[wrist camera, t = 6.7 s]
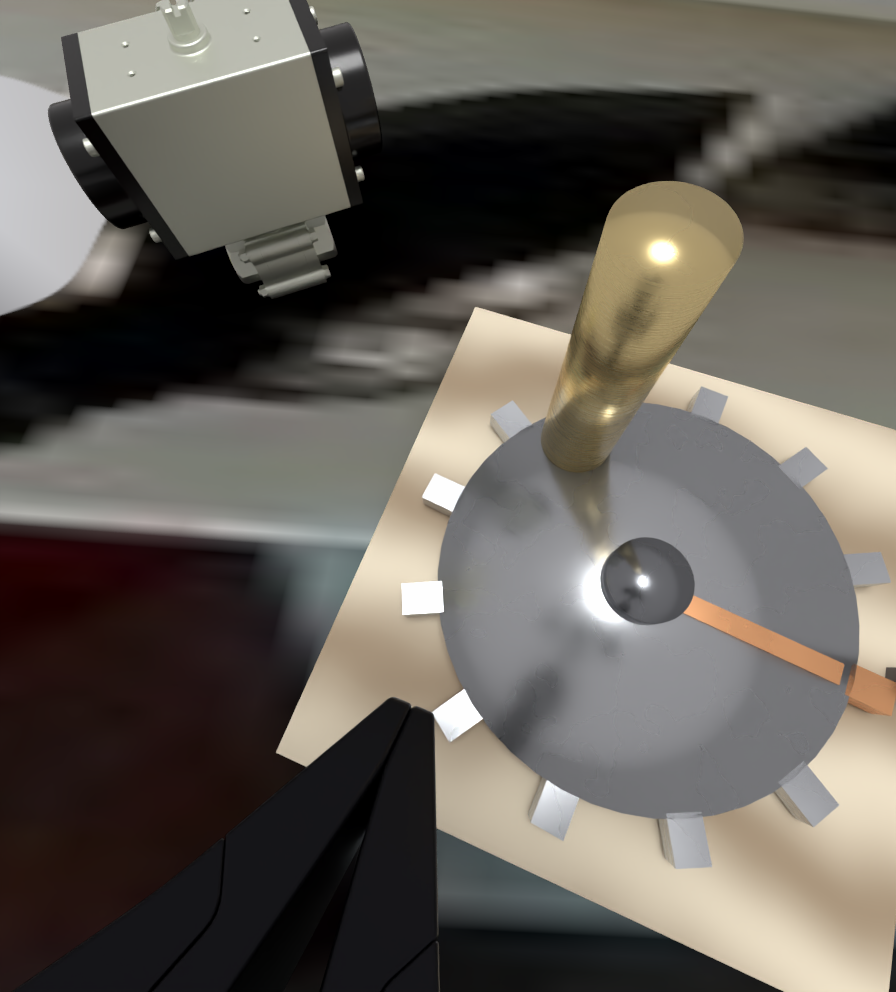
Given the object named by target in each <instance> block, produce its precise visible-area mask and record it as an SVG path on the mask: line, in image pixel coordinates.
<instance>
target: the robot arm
mask: <svg viewBox="0 0 896 992" xmlns="http://www.w3.org/2000/svg"><path fill="white" fill-rule="evenodd" d="M362 839H363V841H362ZM361 841H362V844H361V848H360V851H359V855H358V859H357V862H356V866H355V869H354V873H353V876H352V880H351V883H350V887H349V890H348V894H347V897H346V901H345V904H344V908H343V911H342V915H341V918H340V922H339V925H338V929H337V932H336V936H335V939H334V943H333V946H332V950H331V953H330V957H329V960H328V964H327V967H326V971H325V974H324V978H323V981H322V985H321V988H320V992H440V979H439V944H438V942H437V939H438V886H437V830H436V773H435V719H434V714H433V713H432V712H431V711H428V710H426V709H423V708H421V707H418V706H413V707H412V706H411V704H410V703H409V702H406V701H404V700H401V699H399V698H396V697H390V698H388V699H387V700H386V701H384V702H383V703H382V704H381V705H380V706H379V707H377V708H376V709H375V710H374V711H373V712H371V713H370V714H369V715H368V716H367V717H365V718H364V719H363V720H362V721H361V722H359V723H358V724H357V725H356V726H355V727H353V728H352V729H351V730H350V731H349V732H348V733H346V734H345V735H344V736H343V737H342V738H340V739H339V740H338V741H337V742H336V743H334V744H333V745H332V746H331V747H330V748H328V749H327V750H326V751H325V752H324V753H322V754H321V755H320V756H319V757H318V758H317V759H315V760H314V761H313V762H312V763H311V764H309V765H308V766H307V767H306V768H305V769H303V770H302V771H301V772H300V773H299V774H297V775H296V776H295V777H294V778H293V779H292V780H290V781H289V782H288V783H287V784H286V785H284V786H283V787H282V788H281V789H280V790H278V791H277V792H276V793H275V794H274V795H272V796H271V797H270V798H269V799H268V800H266V801H265V802H264V803H263V804H262V805H261V806H259V807H258V808H257V809H256V810H255V811H253V812H252V813H251V814H250V815H249V816H247V817H246V818H245V819H244V820H243V821H241V822H240V823H239V824H238V825H237V826H235V827H234V828H233V829H232V830H231V831H230V832H228V833H227V834H226V836H225V840H224V839H223V838H222V839H220V840H218V841H217V842H216V843H215V844H214V845H212V846H211V847H210V848H209V849H208V850H207V851H205V852H204V853H203V854H202V855H201V856H199V857H198V858H197V859H196V860H194V861H193V862H192V863H191V864H189V865H188V866H187V867H186V868H184V869H183V870H182V871H181V872H179V873H178V874H177V875H176V876H174V877H173V878H172V879H171V880H169V881H168V882H167V883H166V884H164V885H163V886H162V887H160V888H159V889H158V890H156V891H155V892H154V893H152V894H151V895H149V896H148V897H147V898H145V899H144V900H142V901H141V902H140V903H138V904H137V905H136V906H134V907H133V908H131V909H130V910H129V911H127V912H126V913H125V914H123V915H122V916H120V917H119V918H118V919H116V920H115V921H113V922H112V923H110V924H109V925H107V926H106V927H104V928H103V929H102V930H100V931H99V932H97V933H96V934H94V935H93V936H91V937H90V938H89V939H87V940H86V941H84V942H83V943H81V944H80V945H78V946H77V947H76V948H74V949H73V950H71V951H70V952H68V953H67V954H65V955H64V956H63V957H61V958H60V959H58V960H57V961H55V962H54V963H52V964H51V965H50V966H48V967H47V968H45V969H44V970H42V971H41V972H39V973H38V974H37V975H35V976H34V977H32V978H31V979H29V980H28V981H26V982H25V983H23V984H22V985H21V986H19V987H18V988H16V989H15V990H13V991H12V992H283V990H284V989H285V987H286V985H287V983H288V981H289V979H290V977H291V975H292V973H293V971H294V969H295V968H296V966H297V964H298V962H299V960H300V958H301V956H302V954H303V952H304V950H305V948H306V947H307V945H308V943H309V941H310V939H311V937H312V935H313V933H314V931H315V929H316V927H317V926H318V924H319V922H320V920H321V918H322V916H323V914H324V912H325V910H326V908H327V906H328V905H329V903H330V901H331V899H332V897H333V895H334V893H335V891H336V889H337V887H338V886H339V884H340V882H341V880H342V878H343V876H344V874H345V872H346V870H347V868H348V866H349V865H350V863H351V861H352V859H353V857H354V855H355V853H356V851H357V849H358V847H359V845H360V843H361Z"/></svg>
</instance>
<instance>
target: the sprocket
mask: <svg viewBox="0 0 896 992" xmlns="http://www.w3.org/2000/svg"><path fill="white" fill-rule="evenodd" d="M743 240H744V239H743V230H742V226H741V223H740V221H739V219H738V217H737V215H736V214H735V212H734V211H733V210H732V208H731V207H730V206H729V205H728V204H727V203H726V202H725V201H724V200H722V199H721V198H720V197H718V196H717V195H715V194H714V193H712V192H710V191H708V190H706V189H704V188H701V187H699V186H696V185H692V184H689V183H683V182H676V181H660V182H652V183H648V184H644V185H641V186H638V187H636V188H634V189H632V190H630V191H628V192H627V193H625V194H624V195H622V196H621V197H620V198H619V199H618V200H617V201H616V202H615V203H614V205H613V206H612V208H611V209H610V211H609V214H608V216H607V219H606V223H605V226H604V229H603V232H602V236H601V239H600V242H599V246H598V249H597V252H596V255H595V259H594V262H593V265H592V268H591V272H590V275H589V278H588V282H587V285H586V288H585V291H584V295H583V298H582V301H581V304H580V308H579V311H578V314H577V318H576V321H575V324H574V327H573V331H572V334H571V337H570V340H569V344H568V347H567V350H566V354H565V357H564V360H563V363H562V367H561V370H560V373H559V377H558V380H557V383H556V386H555V390H554V393H553V396H552V399H551V403H550V406H549V409H548V413H547V416H546V418H543V419H541V420H539V421H537V422H535V423H533V424H532V423H531V422H530V421H529V420H528V419H527V417H526V416H525V415H524V414H523V412H522V411H521V410H520V409H519V407H518V406H517V405H516V404H515V402H514V401H513V400H512V401H511V402H509V403H508V404H506V405H504V406H503V407H501V408H500V409H498V410H496V411H495V412H493V413H491V417H490V425H491V426H492V428H493V429H494V430H495V432H496V433H497V434H498V435H499V437H500V438H501V439H502V441H503V442H504V443H503V444H501V445H500V446H499V447H498V448H497V449H496V450H495V451H494V452H493V453H492V454H491V455H490V456H489V457H488V458H487V459H486V460H485V461H484V462H483V463H482V464H481V466H480V467H479V468H478V469H477V471H476V472H475V473H474V474H473V476H472V477H471V478H470V480H469V481H468V483H467V485H466V486H465V487H464V486H462V485H460V484H457V483H455V482H453V481H451V480H449V479H446V478H444V477H442V476H440V475H438V474H434V476H433V477H432V479H431V481H430V483H429V485H428V487H427V489H426V490H425V492H424V494H423V496H422V499H423V503H424V505H426V506H428V507H431V508H433V509H435V510H437V511H439V512H441V513H443V514H446V515H448V516H450V518H449V521H448V524H447V527H446V531H445V534H444V538H443V542H442V545H441V552H440V559H439V566H438V581H437V582H422V583H407V584H402V609H403V615H404V616H405V617H412V616H427V615H440V622H441V627H442V631H443V635H444V639H445V643H446V647H447V651H448V654H449V656H450V659H451V661H452V664H453V666H454V669H455V672H456V674H457V677H458V679H459V681H460V683H461V685H462V686H463V688H464V689H463V690H461V691H460V692H458V693H457V694H455V695H454V696H453V697H451V698H450V699H448V700H447V701H446V702H444V703H443V704H441V705H440V706H439V707H437V708H436V709H434V710H433V711H432V713H433V714H434V717H435V719H436V721H437V722H438V724H439V726H440V727H441V729H442V731H443V732H444V734H445V736H446V737H447V739H448V741H449V742H451V741H453V740H454V739H455V738H457V737H458V736H460V735H461V734H462V733H464V732H465V731H466V730H468V729H469V728H471V727H472V726H473V725H475V724H476V723H477V722H479V721H480V720H482V719H483V720H484V722H485V723H486V724H487V726H488V727H489V729H490V730H491V731H492V732H493V733H494V734H495V735H496V736H497V737H498V739H499V740H500V741H501V742H502V743H503V744H504V745H505V746H506V747H507V748H508V749H509V750H510V752H511V753H513V754H514V755H515V756H516V757H517V758H519V759H520V760H521V761H522V762H523V763H525V764H526V765H527V766H528V767H529V768H530V769H532V770H533V771H534V772H535V773H537V774H538V775H540V776H541V777H542V779H541V781H540V784H539V786H538V789H537V791H536V794H535V796H534V799H533V801H532V804H531V807H530V809H529V812H528V817H529V820H530V822H531V823H532V824H534V825H536V826H538V827H539V828H541V829H543V830H545V831H546V832H548V833H550V834H552V835H553V836H555V837H557V838H559V839H560V840H562V841H564V838H565V835H566V833H567V830H568V827H569V825H570V822H571V819H572V817H573V814H574V811H575V809H576V806H577V803H578V800H579V798H580V799H582V800H585V801H587V802H589V803H591V804H594V805H597V806H600V807H603V808H606V809H610V810H613V811H616V812H619V813H622V814H628V815H634V816H641V817H647V818H653V819H658V822H659V827H660V833H661V839H662V845H663V851H664V857H665V859H666V860H667V861H668V862H669V863H670V864H671V865H672V866H673V867H674V868H675V869H687V868H706V867H712V863H711V857H710V852H709V847H708V842H707V837H706V832H705V826H704V821H703V817H706V816H713V815H718V814H721V813H725V812H728V811H732V810H735V809H738V808H742V807H745V806H747V805H749V804H751V803H753V802H755V801H757V800H759V799H762V798H764V797H766V796H768V795H770V794H772V793H773V792H775V793H776V794H777V796H778V797H779V798H780V800H781V801H782V802H783V803H784V805H785V806H786V807H787V809H788V810H789V811H790V812H791V814H792V815H793V816H794V818H795V819H797V820H799V821H801V822H803V823H805V824H808V825H810V826H812V827H815V826H816V825H817V824H818V823H819V822H821V821H822V820H823V819H824V818H825V817H826V816H828V815H829V814H830V813H831V812H832V811H833V810H835V809H836V808H837V807H838V806H839V804H838V803H837V801H836V800H835V799H834V798H833V796H832V795H831V794H830V793H829V791H828V790H827V789H826V788H825V786H824V785H823V784H822V783H821V781H820V780H819V779H818V778H817V776H816V775H815V774H814V773H813V772H812V770H811V769H810V768H809V767H808V764H809V763H810V762H811V761H812V760H813V759H814V758H815V757H816V756H817V755H818V753H819V752H820V750H821V749H822V748H823V746H824V745H825V744H826V742H827V741H828V739H829V738H830V737H831V735H832V734H833V732H834V730H835V728H836V726H837V724H838V722H839V720H840V718H841V716H842V714H843V712H844V710H845V708H846V706H847V703H849V704H851V705H853V706H855V707H857V708H859V709H862V710H864V711H866V712H868V713H870V714H878V715H886V716H892V712H893V708H894V703H895V698H896V682H894V681H891V680H889V679H887V678H885V677H883V676H880V675H878V674H876V673H874V672H871V671H869V670H867V669H865V668H863V667H860V666H858V665H857V662H858V656H859V627H860V625H859V616H858V607H857V599H856V594H855V590H854V588H856V587H871V586H877V585H882V584H887V583H891V580H890V577H889V574H888V571H887V568H886V565H885V562H884V560H883V557H882V554H881V552H871V553H856V554H843V552H842V549H841V547H840V544H839V542H838V540H837V538H836V536H835V535H834V533H833V531H832V529H831V527H830V525H829V523H828V521H827V520H826V518H825V516H824V515H823V514H822V512H821V511H820V509H819V508H818V506H817V505H816V503H815V502H814V501H813V499H812V498H811V496H810V495H809V494H808V493H807V492H806V490H805V489H804V488H803V486H805V485H806V484H807V483H809V482H810V481H812V480H813V479H814V478H816V477H817V476H819V475H820V474H821V473H823V472H824V471H825V470H827V469H828V468H827V467H826V466H825V465H824V464H823V463H822V462H821V461H820V460H819V459H818V458H817V457H816V456H815V455H814V454H813V453H812V452H811V451H810V450H809V449H808V448H807V447H805V448H803V449H802V450H800V451H799V452H797V453H796V454H794V455H793V456H791V457H790V458H788V459H787V460H785V461H784V462H783V463H781V464H780V463H779V462H777V461H776V460H775V459H774V458H773V457H772V456H771V455H769V454H768V453H767V452H765V451H764V450H763V449H761V448H760V447H758V446H757V445H756V444H754V443H753V442H752V441H750V440H749V439H747V438H745V437H743V436H742V435H740V434H738V433H737V432H735V431H733V430H732V429H730V428H728V427H726V426H724V425H721V424H719V420H720V418H721V415H722V412H723V410H724V407H725V404H726V401H727V399H728V396H726V395H723V394H720V393H718V392H715V391H713V390H710V389H707V388H705V387H702V386H701V387H700V389H699V390H698V391H697V392H696V393H695V395H694V396H693V397H692V399H691V401H690V404H689V407H688V409H687V411H685V410H682V409H678V408H673V407H668V406H663V405H659V404H651V403H643V402H644V401H645V399H646V397H647V396H648V394H649V393H650V391H651V390H652V388H653V387H654V385H655V384H656V382H657V381H658V379H659V378H660V376H661V375H662V373H663V372H664V370H665V369H666V367H667V366H668V364H669V363H670V361H671V360H672V358H673V356H674V355H675V353H676V352H677V350H678V349H679V347H680V346H681V344H682V343H683V341H684V340H685V338H686V337H687V335H688V334H689V332H690V331H691V329H692V328H693V326H694V325H695V323H696V322H697V320H698V319H699V317H700V316H701V314H702V312H703V311H704V309H705V308H706V306H707V305H708V303H709V302H710V300H711V299H712V297H713V296H714V294H715V293H716V291H717V290H718V288H719V287H720V285H721V284H722V282H723V281H724V279H725V278H726V276H727V275H728V273H729V271H730V270H731V268H732V267H733V265H734V264H735V262H736V261H737V259H738V257H739V255H740V253H741V250H742V247H743Z"/></svg>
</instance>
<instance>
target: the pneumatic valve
mask: <svg viewBox="0 0 896 992" xmlns="http://www.w3.org/2000/svg"><path fill="white" fill-rule="evenodd" d="M176 3H177V5H172V4H171V3H170V1H169V0H162V1H159V2H158V3H156V12H153V13H149V14H145V15H142V16H138V17H134V18H130V19H127V20H123V21H119V22H116V23H112V24H108V25H104V26H101V27H97V28H93V29H90V30H86V31H82V32H78V33H75V34H71V35H67V36H64V37H61V39H62V46H63V53H64V59H65V66H66V72H67V79H68V85H69V92H70V98H71V99H68V100H65V101H61V102H57V103H53V104H51V105H50V107H49V109H48V117H49V122H50V126H51V129H52V132H53V135H54V137H55V140H56V142H57V145H58V146H59V149H60V151H61V153H62V155H63V157H64V159H65V161H66V163H67V165H68V166H69V168H70V170H71V172H72V173H73V175H74V177H75V178H76V180H77V182H78V183H79V185H80V186H81V188H82V189H83V191H84V192H85V194H86V195H87V196H88V198H89V199H90V200H91V202H92V203H93V204H94V206H95V207H96V208H97V209H98V210H99V212H100V213H101V214H102V215H103V216H104V217H105V218H106V219H107V220H108V221H109V222H110V223H112V224H113V225H114V226H116V227H117V228H120V229H126V228H129V227H133V226H136V225H139V224H143V223H146V222H149V224H150V225H151V226H152V228H150V229H149V233H150V235H151V237H152V239H153V240H154V241H155V242H156V243H157V242H160V241H162V242H163V243H164V244H165V246H166V247H167V248H168V250H169V251H170V253H171V254H172V255H173V257H174V258H175V259H176V260H179V259H183V258H186V257H189V256H192V255H196V254H199V253H202V252H206V251H209V250H212V249H215V248H219V247H222V246H225V247H226V250H227V253H228V255H229V258H230V260H231V263H232V265H233V267H234V269H235V271H236V273H237V275H238V276H239V278H240V280H241V281H242V282H243V283H246V284H250V283H253V282H256V281H259V280H262V281H263V283H264V285H260V286H259V289H258V293H259V295H260V296H261V295H262V296H263V297H264V298H265V297H268V296H269V297H271V299H275V298H278V297H281V296H284V295H287V294H290V293H294V292H297V291H300V290H303V289H306V288H310V287H313V286H316V285H319V284H322V283H325V282H327V280H326V279H328V277H331V274H330V271H329V269H328V266H327V265H324V266H323V265H321V263H320V261H324V260H327V259H330V258H333V257H336V255H337V254H338V253H337V250H336V246H335V243H334V240H333V237H332V234H331V231H330V229H329V226H328V223H327V220H326V217H325V215H327V214H330V213H334V212H337V211H340V210H343V209H347V208H350V206H351V207H353V206H356V205H360V204H363V201H362V197H361V192H360V188H359V184H358V182H359V181H363V180H364V179H365V177H364V173H363V170H362V167H361V166H357V167H354V162H353V161H354V160H357V159H361V158H364V157H367V156H371V155H374V154H377V153H380V152H381V151H382V134H381V127H380V121H379V116H378V111H377V106H376V101H375V97H374V93H373V88H372V84H371V81H370V77H369V73H368V70H367V66H366V63H365V59H364V56H363V53H362V50H361V47H360V44H359V42H358V39H357V36H356V34H355V32H354V30H353V28H352V26H351V25H350V24H349V23H348V22H345V23H341V24H338V25H334V26H331V27H327V28H323V29H320V30H319V29H318V26H317V25H318V21H317V17H316V13H315V10H314V8H313V6H310V7H309V5H308V3H307V1H306V0H190V3H188V0H176Z"/></svg>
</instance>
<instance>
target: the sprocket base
mask: <svg viewBox="0 0 896 992" xmlns="http://www.w3.org/2000/svg"><path fill="white" fill-rule="evenodd" d="M570 337H571V335H570V334H566V333H563V332H559V331H556V330H553V329H549V328H546V327H542V326H539V325H535V324H532V323H529V322H525V321H522V320H518V319H515V318H512V317H508V316H505V315H501V314H498V313H495V312H491V311H488V310H484V309H481V308H478V307H475V309H474V311H473V314H472V316H471V318H470V320H469V323H468V325H467V327H466V329H465V332H464V334H463V336H462V338H461V340H460V343H459V345H458V347H457V349H456V352H455V354H454V356H453V358H452V361H451V363H450V365H449V367H448V369H447V372H446V374H445V376H444V378H443V381H442V383H441V385H440V387H439V390H438V392H437V394H436V396H435V398H434V401H433V403H432V405H431V407H430V410H429V412H428V414H427V416H426V419H425V421H424V423H423V425H422V428H421V430H420V432H419V434H418V436H417V439H416V441H415V443H414V445H413V448H412V450H411V452H410V454H409V457H408V459H407V461H406V463H405V465H404V468H403V470H402V472H401V474H400V477H399V479H398V481H397V483H396V486H395V488H394V490H393V492H392V495H391V497H390V499H389V501H388V503H387V506H386V508H385V510H384V512H383V515H382V517H381V519H380V521H379V524H378V526H377V528H376V530H375V532H374V535H373V537H372V539H371V541H370V544H369V546H368V548H367V550H366V553H365V555H364V557H363V559H362V561H361V564H360V566H359V568H358V570H357V573H356V575H355V577H354V579H353V582H352V584H351V586H350V588H349V591H348V593H347V595H346V597H345V599H344V602H343V604H342V606H341V608H340V611H339V613H338V615H337V617H336V620H335V622H334V624H333V626H332V628H331V631H330V633H329V635H328V637H327V640H326V642H325V644H324V646H323V649H322V651H321V653H320V655H319V657H318V660H317V662H316V664H315V666H314V669H313V671H312V673H311V675H310V678H309V680H308V682H307V684H306V687H305V689H304V691H303V693H302V695H301V698H300V700H299V702H298V704H297V707H296V709H295V711H294V713H293V716H292V718H291V720H290V722H289V724H288V727H287V729H286V731H285V733H284V736H283V738H282V740H281V742H280V745H279V747H278V749H277V751H276V753H278V754H280V755H282V756H284V757H286V758H289V759H291V760H293V761H295V762H297V763H299V764H301V765H304V766H306V767H307V766H308V765H309V764H311V763H312V762H313V761H314V760H315V759H317V758H318V757H319V756H320V755H321V754H322V753H324V752H325V751H326V750H327V749H328V748H330V747H331V746H332V745H333V744H334V743H336V742H337V741H338V740H339V739H340V738H342V737H343V736H344V735H345V734H346V733H348V732H349V731H350V730H351V729H352V728H353V727H355V726H356V725H357V724H358V723H359V722H361V721H362V720H363V719H364V718H365V717H367V716H368V715H369V714H370V713H371V712H373V711H374V710H375V709H376V708H377V707H379V706H380V705H381V704H382V703H383V702H384V701H386V700H387V699H388V698H390V697H396V698H399V699H401V700H404V701H406V702H409V703H410V704H411V706H412V707H413V706H418V707H421V708H423V709H426V710H428V711H431V712H432V711H433V710H434V709H436V708H437V707H439V706H440V705H441V704H443V703H444V702H446V701H447V700H448V699H450V698H451V697H453V696H454V695H455V694H457V693H458V692H460V691H461V690H463V689H464V688H463V686H462V685H461V683H460V681H459V679H458V677H457V674H456V672H455V669H454V666H453V664H452V661H451V659H450V656H449V654H448V651H447V647H446V643H445V639H444V635H443V631H442V627H441V622H440V615H427V616H412V617H405V616H404V615H403V609H402V584H407V583H422V582H437V581H438V566H439V559H440V552H441V545H442V542H443V538H444V534H445V531H446V527H447V524H448V521H449V518H450V516H448V515H446V514H443V513H441V512H439V511H437V510H435V509H433V508H431V507H428V506H426V505H424V503H423V499H422V496H423V494H424V492H425V490H426V489H427V487H428V485H429V483H430V481H431V479H432V477H433V476H434V474H438V475H440V476H442V477H444V478H446V479H449V480H451V481H453V482H455V483H457V484H460V485H462V486H464V487H465V486H466V485H467V483H468V481H469V480H470V478H471V477H472V476H473V474H474V473H475V472H476V471H477V469H478V468H479V467H480V466H481V464H482V463H483V462H484V461H485V460H486V459H487V458H488V457H489V456H490V455H491V454H492V453H493V452H494V451H495V450H496V449H497V448H498V447H499V446H500V445H501V444H503V443H504V442H503V441H502V439H501V438H500V437H499V435H498V434H497V433H496V432H495V430H494V429H493V428H492V426H491V425H490V417H491V413H493V412H495V411H496V410H498V409H500V408H501V407H503V406H504V405H506V404H508V403H509V402H511V401H512V400H513V401H514V402H515V404H516V405H517V406H518V407H519V409H520V410H521V411H522V412H523V414H524V415H525V416H526V417H527V419H528V420H529V421H530V422H531V423H532V424H533V423H535V422H537V421H539V420H541V419H543V418H546V416H547V413H548V409H549V406H550V403H551V399H552V396H553V393H554V390H555V386H556V383H557V380H558V377H559V373H560V370H561V367H562V363H563V360H564V357H565V354H566V350H567V347H568V344H569V340H570ZM701 386H702V387H705V388H707V389H710V390H713V391H715V392H718V393H720V394H723V395H726V396H728V399H727V401H726V404H725V407H724V410H723V412H722V415H721V418H720V420H719V424H721V425H724V426H726V427H728V428H730V429H732V430H733V431H735V432H737V433H738V434H740V435H742V436H743V437H745V438H747V439H749V440H750V441H752V442H753V443H754V444H756V445H757V446H758V447H760V448H761V449H763V450H764V451H765V452H767V453H768V454H769V455H771V456H772V457H773V458H774V459H775V460H776V461H777V462H779V463H780V464H781V463H783V462H784V461H785V460H787V459H788V458H790V457H791V456H793V455H794V454H796V453H797V452H799V451H800V450H802V449H803V448H805V447H807V448H808V449H809V450H810V451H811V452H812V453H813V454H814V455H815V456H816V457H817V458H818V459H819V460H820V461H821V462H822V463H823V464H824V465H825V466H826V467H827V468H828V469H827V470H825V471H824V472H823V473H821V474H820V475H819V476H817V477H816V478H814V479H813V480H812V481H810V482H809V483H807V484H806V485H805V486H803V488H804V489H805V490H806V492H807V493H808V494H809V495H810V496H811V498H812V499H813V501H814V502H815V503H816V505H817V506H818V508H819V509H820V511H821V512H822V514H823V515H824V516H825V518H826V520H827V521H828V523H829V525H830V527H831V529H832V531H833V533H834V535H835V536H836V538H837V540H838V542H839V544H840V547H841V549H842V552H843V554H856V553H871V552H881V554H882V557H883V560H884V562H885V565H886V568H887V571H888V574H889V577H890V580H891V583H887V584H882V585H877V586H871V587H856V588H854V590H855V594H856V599H857V607H858V616H859V625H860V627H859V656H858V662H857V665H858V666H860V667H863V668H865V669H867V670H869V671H871V672H874V673H876V674H878V675H880V676H883V677H885V678H887V679H889V680H891V681H894V682H896V430H894V429H890V428H887V427H883V426H880V425H877V424H873V423H870V422H866V421H863V420H860V419H856V418H853V417H849V416H846V415H842V414H839V413H836V412H832V411H829V410H825V409H822V408H819V407H815V406H812V405H808V404H805V403H802V402H798V401H795V400H791V399H788V398H784V397H781V396H778V395H774V394H771V393H767V392H764V391H761V390H757V389H754V388H750V387H747V386H744V385H740V384H737V383H733V382H730V381H727V380H723V379H720V378H716V377H713V376H709V375H706V374H703V373H699V372H696V371H692V370H689V369H686V368H682V367H679V366H675V365H672V364H668V366H667V367H666V369H665V370H664V372H663V373H662V375H661V376H660V378H659V379H658V381H657V382H656V384H655V385H654V387H653V388H652V390H651V391H650V393H649V394H648V396H647V397H646V399H645V401H644V402H643V403H651V404H659V405H663V406H668V407H673V408H678V409H682V410H685V411H687V409H688V407H689V404H690V401H691V399H692V397H693V396H694V395H695V393H696V392H697V391H698V390H699V389H700V387H701ZM434 719H435V717H434ZM808 767H809V768H810V769H811V770H812V772H813V773H814V774H815V775H816V776H817V778H818V779H819V780H820V781H821V783H822V784H823V785H824V786H825V788H826V789H827V790H828V791H829V793H830V794H831V795H832V796H833V798H834V799H835V800H836V801H837V803H838V804H839V806H838V807H837V808H836V809H835V810H833V811H832V812H831V813H830V814H829V815H828V816H826V817H825V818H824V819H823V820H822V821H821V822H819V823H818V824H817V825H816V826H815V827H812V826H810V825H808V824H805V823H803V822H801V821H799V820H797V819H795V818H794V816H793V815H792V814H791V812H790V811H789V810H788V809H787V807H786V806H785V805H784V803H783V802H782V801H781V800H780V798H779V797H778V796H777V794H776V793H775V792H773V793H772V794H770V795H768V796H766V797H764V798H762V799H759V800H757V801H755V802H753V803H751V804H749V805H747V806H745V807H742V808H738V809H735V810H732V811H728V812H725V813H721V814H718V815H713V816H706V817H703V821H704V826H705V832H706V837H707V842H708V847H709V852H710V857H711V863H712V867H706V868H687V869H675V868H674V867H673V866H672V865H671V864H670V863H669V862H668V861H667V860H666V859H665V857H664V851H663V845H662V839H661V833H660V827H659V822H658V819H653V818H647V817H641V816H634V815H628V814H622V813H619V812H616V811H613V810H610V809H606V808H603V807H600V806H597V805H594V804H591V803H589V802H587V801H585V800H582V799H580V798H579V800H578V803H577V806H576V809H575V811H574V814H573V817H572V819H571V822H570V825H569V827H568V830H567V833H566V835H565V838H564V841H562V840H560V839H559V838H557V837H555V836H553V835H552V834H550V833H548V832H546V831H545V830H543V829H541V828H539V827H538V826H536V825H534V824H532V823H531V822H530V820H529V817H528V812H529V809H530V807H531V804H532V801H533V799H534V796H535V794H536V791H537V789H538V786H539V784H540V781H541V779H542V777H541V776H540V775H538V774H537V773H535V772H534V771H533V770H532V769H530V768H529V767H528V766H527V765H526V764H525V763H523V762H522V761H521V760H520V759H519V758H517V757H516V756H515V755H514V754H513V753H511V752H510V750H509V749H508V748H507V747H506V746H505V745H504V744H503V743H502V742H501V741H500V740H499V739H498V737H497V736H496V735H495V734H494V733H493V732H492V731H491V730H490V729H489V727H488V726H487V724H486V723H485V722H484V720H483V719H482V720H480V721H479V722H477V723H476V724H475V725H473V726H472V727H471V728H469V729H468V730H466V731H465V732H464V733H462V734H461V735H460V736H458V737H457V738H455V739H454V740H453V741H451V742H449V741H448V739H447V737H446V736H445V734H444V732H443V731H442V729H441V727H440V726H439V724H438V722H437V721H436V719H435V773H436V828H437V829H440V830H442V831H444V832H446V833H448V834H450V835H452V836H454V837H457V838H459V839H461V840H463V841H465V842H467V843H469V844H471V845H474V846H476V847H478V848H480V849H482V850H484V851H486V852H488V853H491V854H493V855H495V856H497V857H499V858H501V859H503V860H505V861H508V862H510V863H512V864H514V865H516V866H518V867H520V868H522V869H525V870H527V871H529V872H531V873H533V874H535V875H537V876H539V877H542V878H544V879H546V880H548V881H550V882H552V883H554V884H556V885H559V886H561V887H563V888H565V889H567V890H569V891H571V892H573V893H576V894H578V895H580V896H582V897H584V898H586V899H588V900H590V901H593V902H595V903H597V904H599V905H601V906H603V907H605V908H607V909H610V910H612V911H614V912H616V913H618V914H620V915H622V916H624V917H627V918H629V919H631V920H633V921H635V922H637V923H639V924H641V925H644V926H646V927H648V928H650V929H652V930H654V931H656V932H658V933H661V934H663V935H665V936H667V937H669V938H671V939H673V940H675V941H678V942H680V943H682V944H684V945H686V946H688V947H690V948H692V949H695V950H697V951H699V952H701V953H703V954H705V955H707V956H709V957H712V958H714V959H716V960H718V961H720V962H722V963H724V964H726V965H729V966H731V967H733V968H735V969H737V970H739V971H741V972H743V973H746V974H748V975H750V976H752V977H754V978H756V979H758V980H760V981H763V982H765V983H767V984H769V985H771V986H773V987H775V988H777V989H780V990H782V991H784V992H889V983H890V973H891V963H892V953H893V943H894V933H895V923H896V698H895V703H894V708H893V712H892V716H886V715H878V714H870V713H868V712H866V711H864V710H862V709H859V708H857V707H855V706H853V705H851V704H849V703H847V706H846V708H845V710H844V712H843V714H842V716H841V718H840V720H839V722H838V724H837V726H836V728H835V730H834V732H833V734H832V735H831V737H830V738H829V739H828V741H827V742H826V744H825V745H824V746H823V748H822V749H821V750H820V752H819V753H818V755H817V756H816V757H815V758H814V759H813V760H812V761H811V762H810V763H809V764H808Z"/></svg>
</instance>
